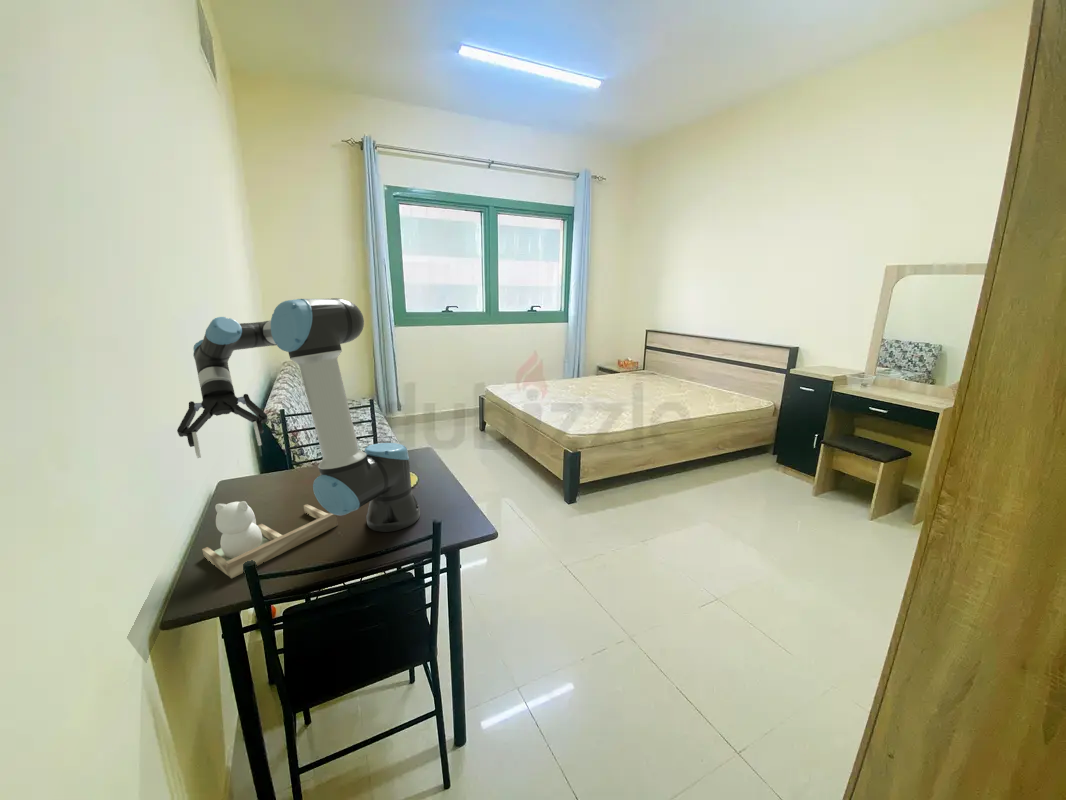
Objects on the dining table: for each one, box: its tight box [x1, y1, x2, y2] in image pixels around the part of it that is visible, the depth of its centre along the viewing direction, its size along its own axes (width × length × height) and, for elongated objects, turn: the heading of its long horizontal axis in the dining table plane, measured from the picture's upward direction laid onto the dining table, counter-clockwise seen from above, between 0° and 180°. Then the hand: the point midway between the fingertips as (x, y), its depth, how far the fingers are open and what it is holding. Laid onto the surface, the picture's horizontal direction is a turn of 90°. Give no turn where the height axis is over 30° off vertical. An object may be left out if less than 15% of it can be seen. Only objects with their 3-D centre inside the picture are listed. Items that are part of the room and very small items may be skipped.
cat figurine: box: [214, 500, 263, 559], centre depth 110 cm, size 9×12×15 cm
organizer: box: [201, 503, 339, 579], centre depth 116 cm, size 16×28×4 cm, turn 147°
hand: (230, 449), depth 114 cm, fingers open, 13 cm apart
